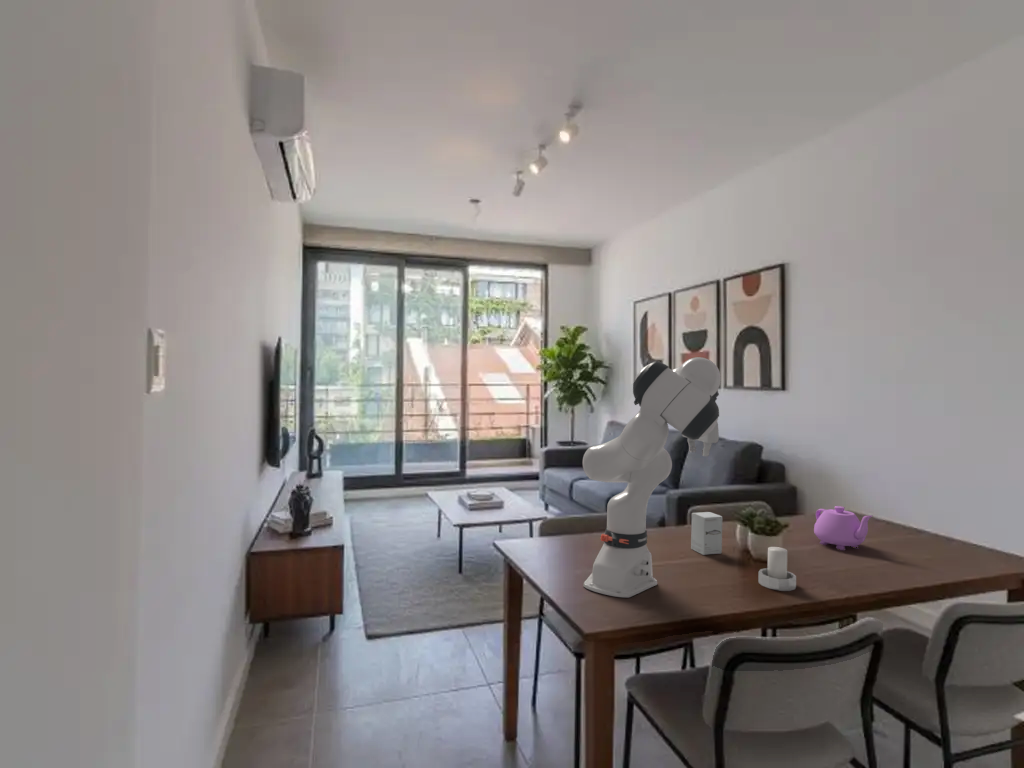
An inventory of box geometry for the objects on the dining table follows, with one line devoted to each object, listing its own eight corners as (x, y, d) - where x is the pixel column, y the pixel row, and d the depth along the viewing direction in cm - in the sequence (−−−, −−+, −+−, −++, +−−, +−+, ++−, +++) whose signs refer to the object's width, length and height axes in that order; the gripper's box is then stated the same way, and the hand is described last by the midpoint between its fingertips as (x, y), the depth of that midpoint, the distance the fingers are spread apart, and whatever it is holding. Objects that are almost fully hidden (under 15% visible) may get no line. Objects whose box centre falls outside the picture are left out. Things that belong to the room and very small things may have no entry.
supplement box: (703, 555, 182) (703, 517, 182) (690, 548, 189) (690, 512, 189) (722, 553, 184) (723, 516, 184) (709, 547, 191) (709, 511, 191)
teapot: (887, 553, 186) (888, 512, 186) (854, 558, 181) (855, 516, 181) (829, 535, 207) (830, 499, 207) (798, 539, 201) (799, 502, 201)
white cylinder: (785, 589, 153) (785, 553, 153) (765, 585, 156) (766, 550, 156) (788, 583, 157) (788, 548, 157) (769, 579, 160) (769, 545, 160)
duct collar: (792, 593, 150) (793, 582, 150) (755, 585, 155) (756, 575, 155) (797, 583, 158) (798, 572, 158) (762, 576, 163) (762, 566, 163)
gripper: (724, 413, 168) (723, 458, 168) (695, 409, 188) (694, 449, 188) (704, 413, 167) (704, 458, 167) (677, 409, 187) (677, 450, 188)
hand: (698, 454), depth 178 cm, fingers open, 8 cm apart
